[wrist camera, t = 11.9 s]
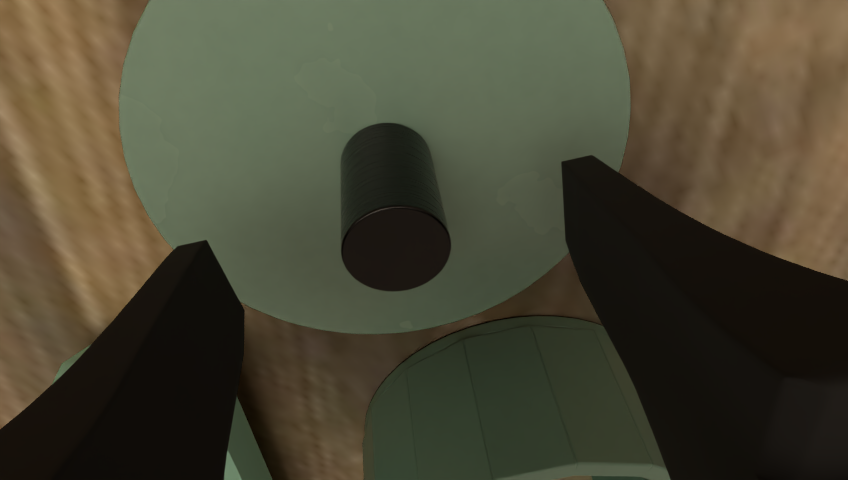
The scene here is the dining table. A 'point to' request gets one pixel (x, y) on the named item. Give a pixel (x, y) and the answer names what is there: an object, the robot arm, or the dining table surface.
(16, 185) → the dining table surface
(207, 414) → the robot arm
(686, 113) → the dining table surface
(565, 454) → the pan
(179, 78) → the lid
